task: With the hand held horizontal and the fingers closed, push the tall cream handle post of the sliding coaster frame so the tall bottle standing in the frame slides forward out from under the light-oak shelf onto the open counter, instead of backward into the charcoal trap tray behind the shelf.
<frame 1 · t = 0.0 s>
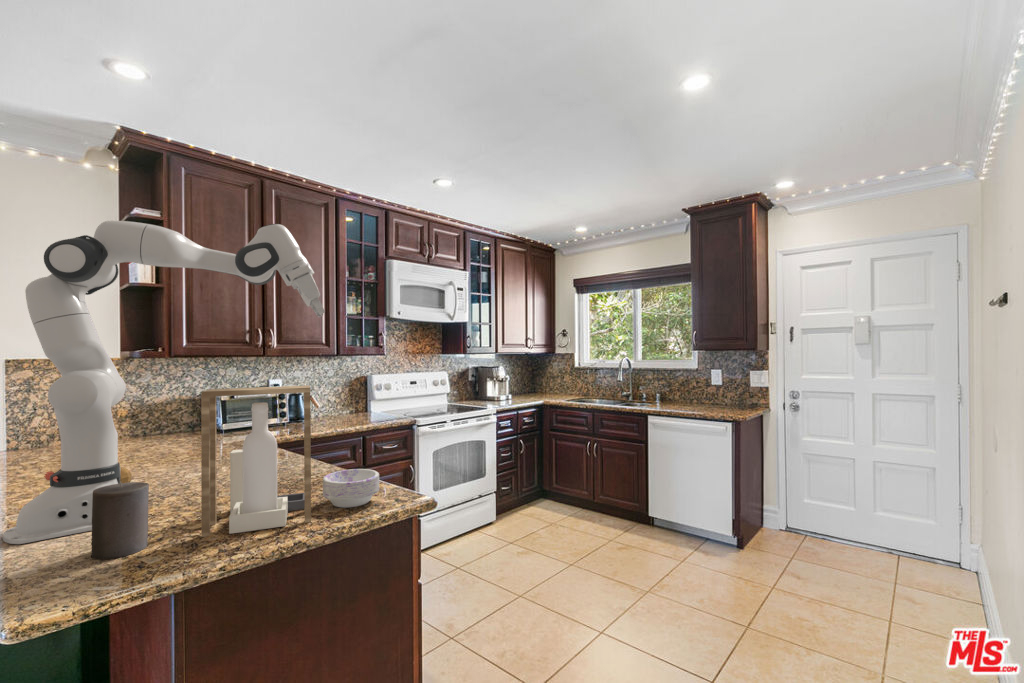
hand: (321, 315, 148), 54 cm above the counter, tool tilted 30°, fingers open, 8 cm apart
trap tray: (279, 508, 132), on the counter
pillar candle: (121, 551, 105), on the counter
paper bowls: (351, 503, 136), on the counter
potato: (111, 491, 153), on the counter
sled: (257, 485, 125), point 8 cm above the counter, slide at 0.0 cm
oak shelf bridge: (260, 522, 121), on the counter
bottle: (260, 523, 121), on the counter
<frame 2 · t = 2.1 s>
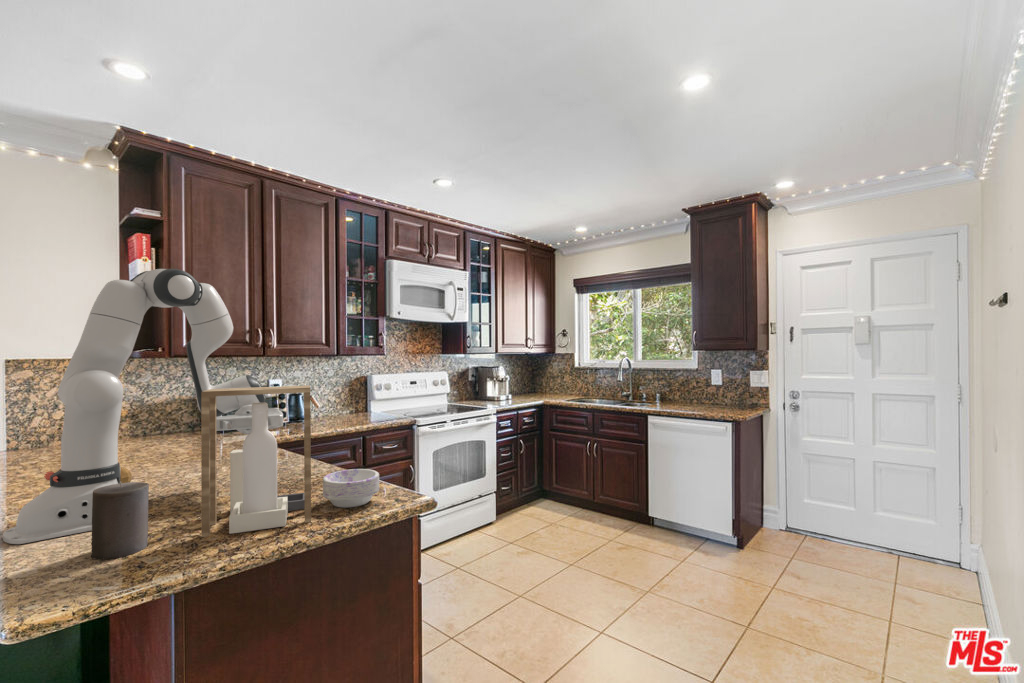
hand: (243, 425, 139), 22 cm above the counter, tool horizontal, fingers open, 6 cm apart
nothing on the counter moved.
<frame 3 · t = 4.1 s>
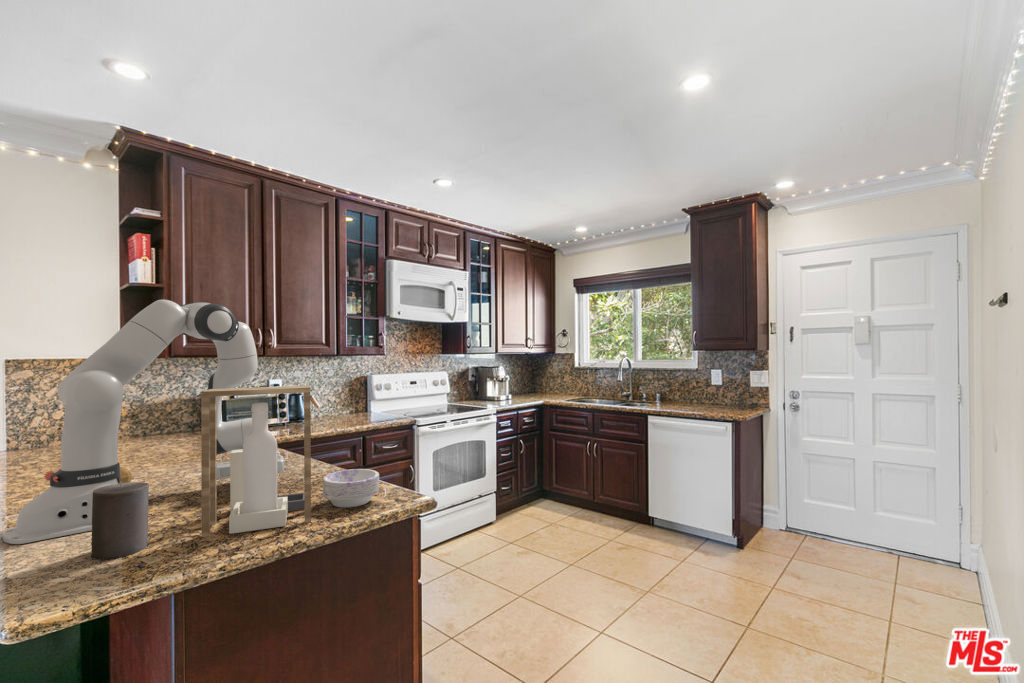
hand: (244, 473, 139), 8 cm above the counter, tool horizontal, fingers closed
nothing on the counter moved.
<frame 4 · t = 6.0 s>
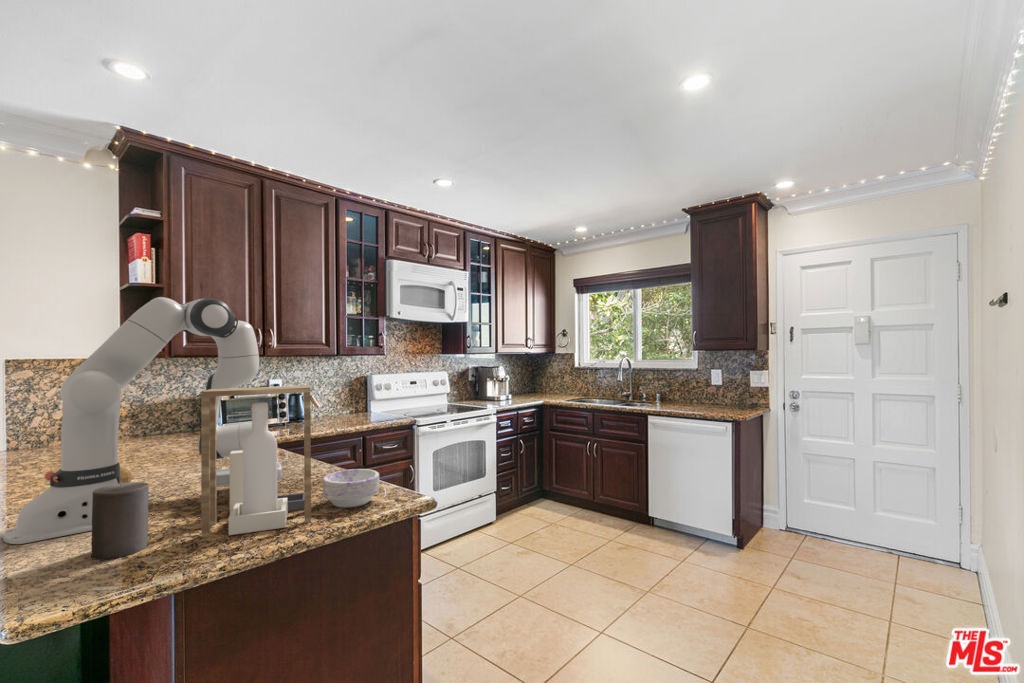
hand: (240, 482, 132), 7 cm above the counter, tool horizontal, fingers closed, pressing on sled
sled: (257, 486, 124), point 8 cm above the counter, slide at 1.0 cm, touching gripper
everything else where it was.
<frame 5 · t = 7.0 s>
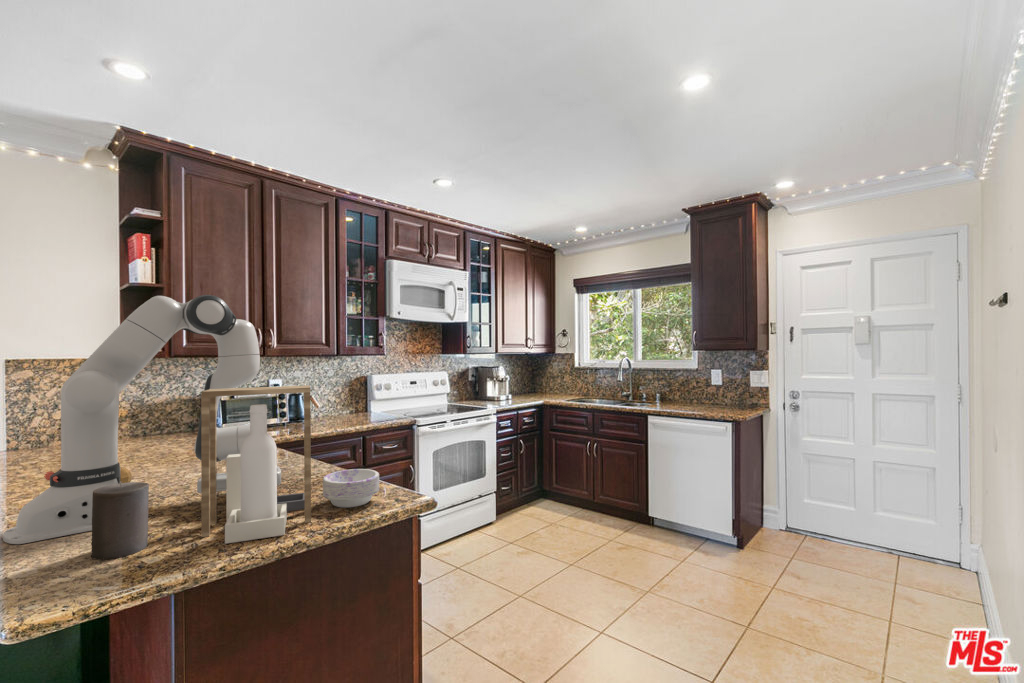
hand: (237, 487, 127), 7 cm above the counter, tool horizontal, fingers closed, pressing on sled
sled: (255, 492, 119), point 8 cm above the counter, slide at 6.5 cm, touching gripper
bottle: (259, 530, 116), on the counter
everything else where it was.
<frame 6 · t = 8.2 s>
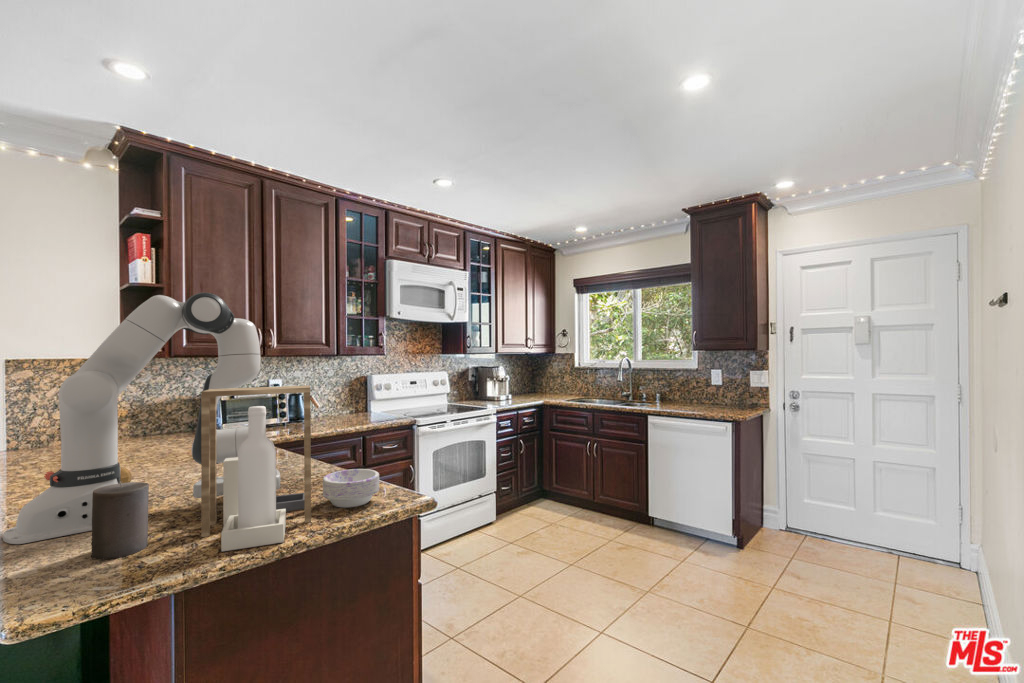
hand: (235, 491, 122), 7 cm above the counter, tool horizontal, fingers closed, pressing on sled
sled: (253, 497, 115), point 8 cm above the counter, slide at 11.2 cm, touching bottle, gripper
bottle: (257, 537, 112), on the counter, touching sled
everything else where it was.
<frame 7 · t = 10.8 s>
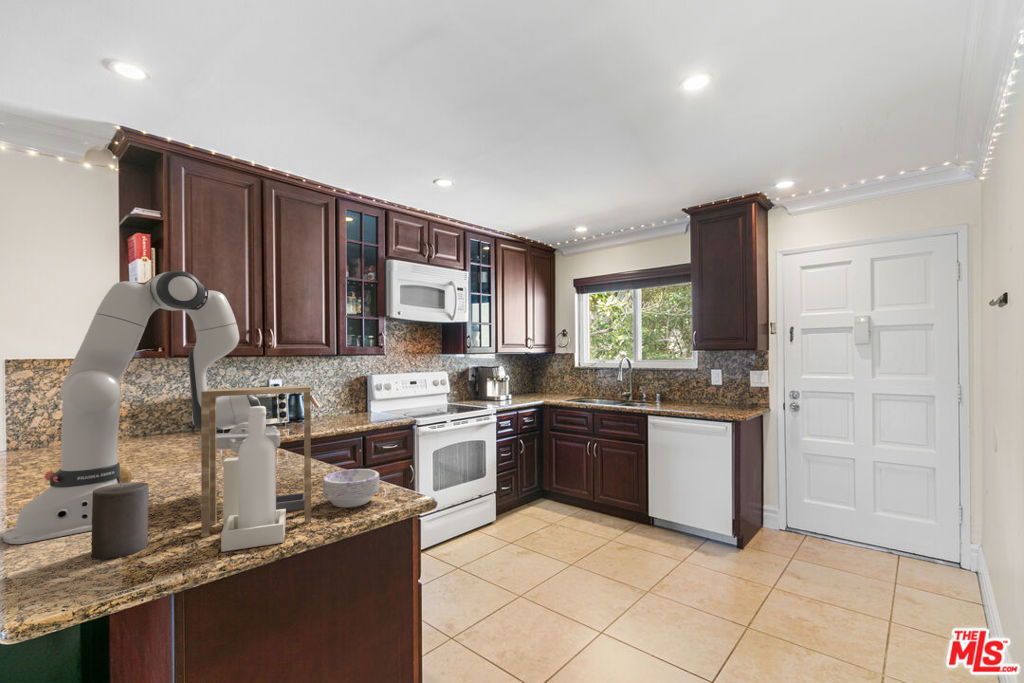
hand: (238, 444, 132), 18 cm above the counter, tool horizontal, fingers closed
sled: (252, 497, 115), point 8 cm above the counter, slide at 11.3 cm
bottle: (257, 537, 111), on the counter
everything else where it was.
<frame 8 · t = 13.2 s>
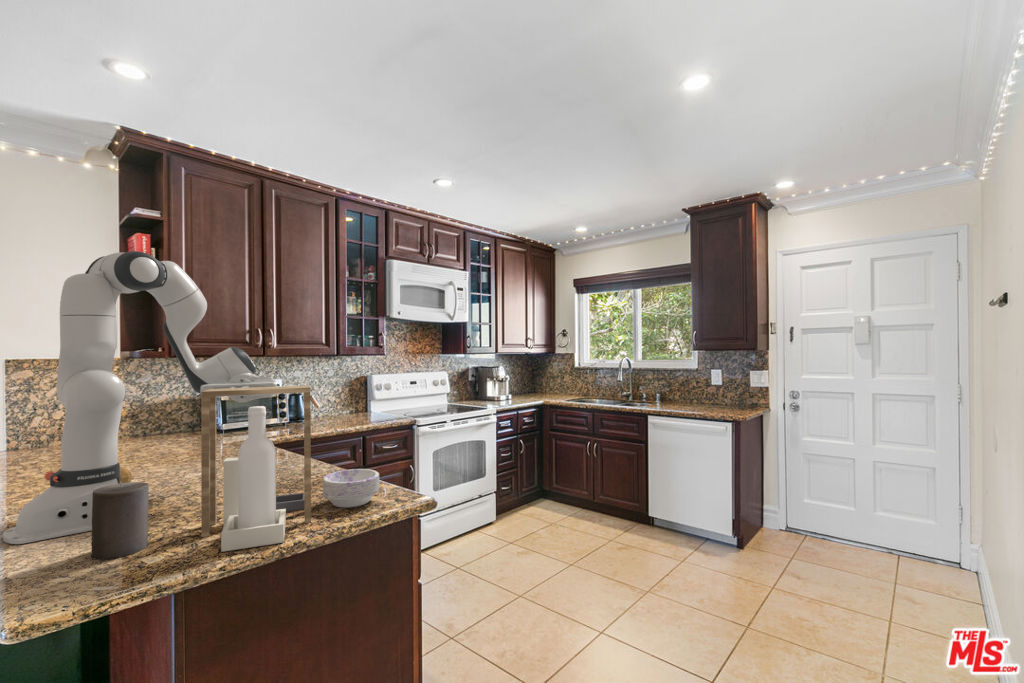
hand: (237, 390, 139), 32 cm above the counter, tool horizontal, fingers closed
nothing on the counter moved.
at the end: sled slide at 11.3 cm; bottle inside the target area (0.5 cm from its centre), on the counter; bottle tilted 0° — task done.
